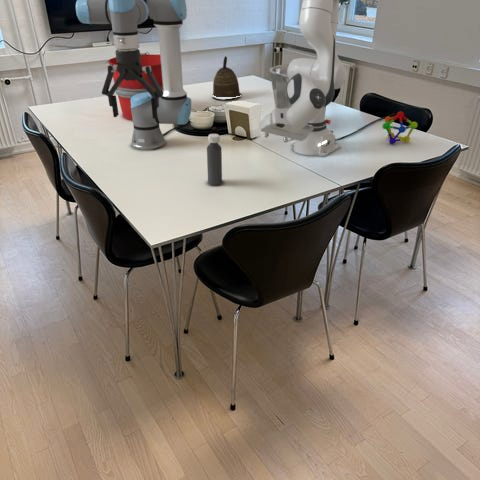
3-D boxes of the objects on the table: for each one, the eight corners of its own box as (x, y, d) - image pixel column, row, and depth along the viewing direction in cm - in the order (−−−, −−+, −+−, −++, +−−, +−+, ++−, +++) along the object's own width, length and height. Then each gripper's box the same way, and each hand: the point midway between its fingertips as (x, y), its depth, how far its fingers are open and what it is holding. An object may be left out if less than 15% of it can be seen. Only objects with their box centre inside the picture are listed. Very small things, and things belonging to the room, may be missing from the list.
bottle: (206, 181, 173) (204, 135, 163) (219, 179, 174) (219, 133, 164) (210, 186, 168) (208, 139, 159) (223, 185, 170) (223, 138, 160)
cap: (207, 139, 163) (206, 134, 162) (217, 138, 165) (217, 133, 163) (209, 143, 160) (209, 137, 159) (220, 142, 161) (220, 136, 160)
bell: (227, 105, 294) (202, 96, 282) (238, 66, 289) (213, 55, 277) (243, 108, 280) (217, 98, 268) (255, 66, 275) (229, 55, 263)
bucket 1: (122, 105, 263) (114, 51, 248) (180, 106, 263) (177, 52, 247) (105, 123, 234) (95, 63, 218) (171, 124, 233) (166, 64, 217)
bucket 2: (296, 138, 215) (301, 78, 201) (255, 124, 234) (256, 68, 219) (335, 125, 232) (342, 70, 217) (294, 113, 251) (297, 61, 236)
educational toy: (377, 146, 209) (379, 114, 202) (384, 138, 219) (386, 107, 211) (411, 149, 202) (415, 116, 195) (417, 141, 212) (420, 109, 204)
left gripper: (84, 50, 136) (95, 118, 148) (163, 52, 134) (168, 121, 145) (93, 46, 143) (104, 112, 154) (169, 48, 140) (174, 114, 152)
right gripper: (315, 119, 173) (296, 137, 185) (270, 107, 165) (252, 126, 176) (316, 133, 171) (297, 150, 183) (271, 122, 163) (253, 140, 174)
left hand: (135, 116), depth 150 cm, fingers open, 13 cm apart
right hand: (275, 138), depth 180 cm, fingers open, 8 cm apart
